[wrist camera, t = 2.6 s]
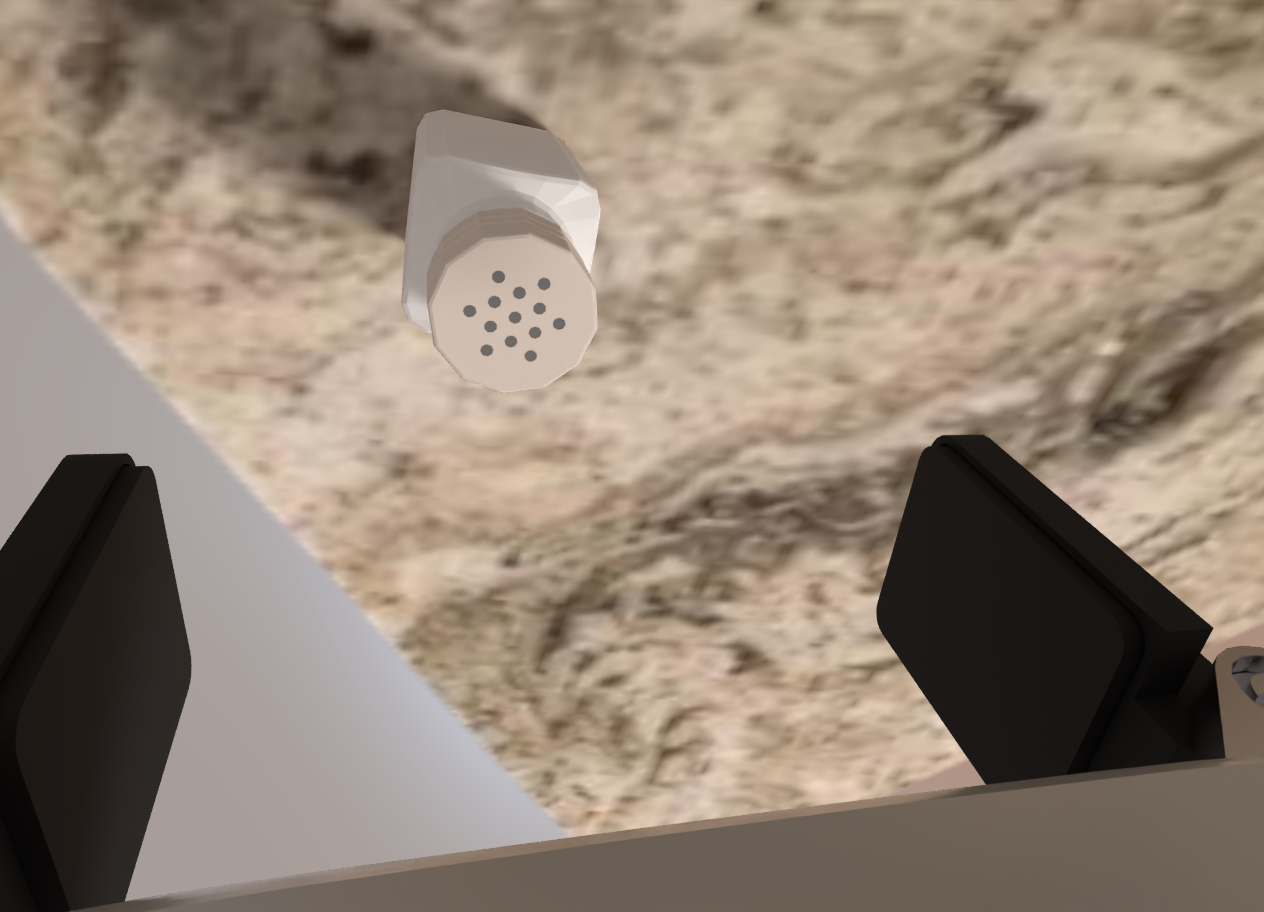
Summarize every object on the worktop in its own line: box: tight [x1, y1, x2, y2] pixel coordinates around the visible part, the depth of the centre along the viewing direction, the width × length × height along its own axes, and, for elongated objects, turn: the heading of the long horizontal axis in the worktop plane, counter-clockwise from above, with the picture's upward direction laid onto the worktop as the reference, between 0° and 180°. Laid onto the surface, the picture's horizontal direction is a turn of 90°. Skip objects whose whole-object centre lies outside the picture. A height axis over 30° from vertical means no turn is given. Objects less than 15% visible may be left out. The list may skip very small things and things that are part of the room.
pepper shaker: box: [401, 109, 601, 393], centre depth 20 cm, size 4×4×10 cm
